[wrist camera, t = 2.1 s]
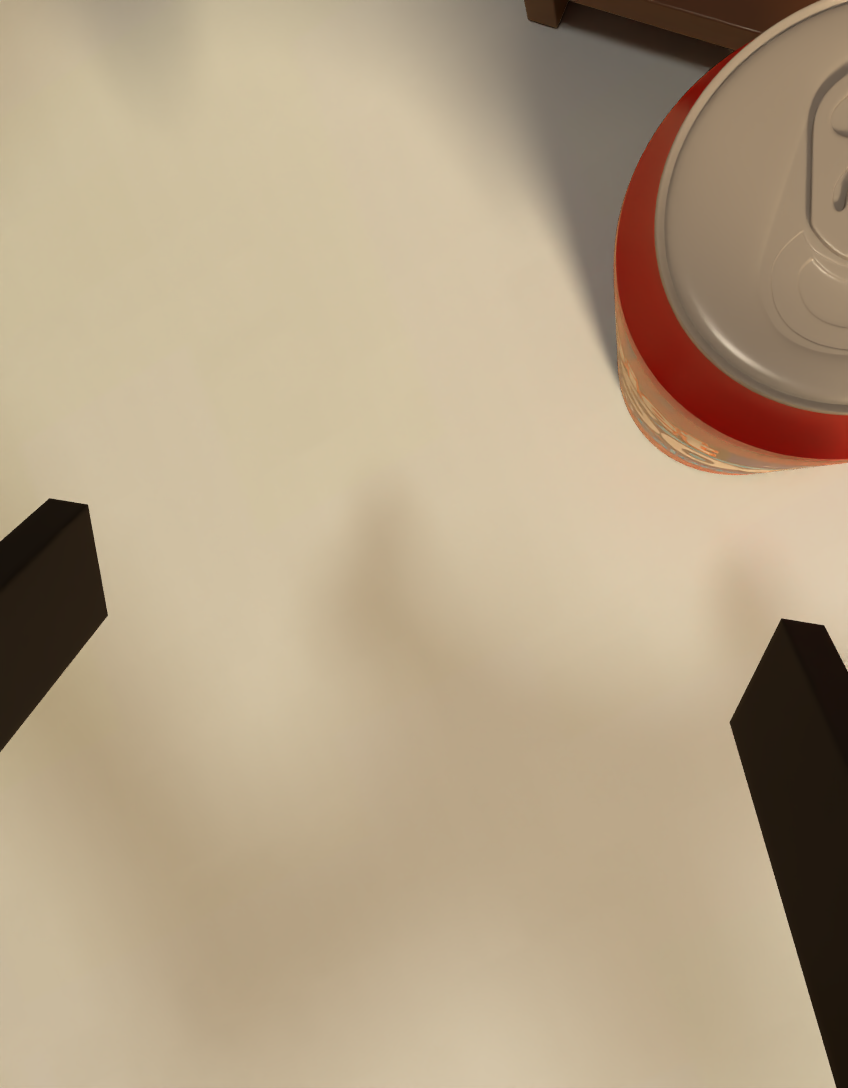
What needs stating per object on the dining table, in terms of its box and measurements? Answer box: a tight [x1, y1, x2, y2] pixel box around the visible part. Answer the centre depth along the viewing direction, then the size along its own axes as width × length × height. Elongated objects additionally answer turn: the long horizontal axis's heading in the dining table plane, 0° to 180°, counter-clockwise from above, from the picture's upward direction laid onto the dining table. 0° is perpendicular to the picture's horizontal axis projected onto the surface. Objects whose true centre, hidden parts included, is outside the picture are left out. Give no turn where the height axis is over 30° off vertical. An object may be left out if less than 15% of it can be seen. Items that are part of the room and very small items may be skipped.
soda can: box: [614, 0, 848, 475], centre depth 18 cm, size 8×8×15 cm
